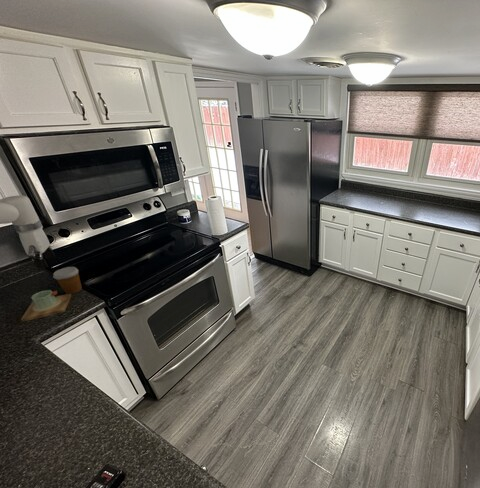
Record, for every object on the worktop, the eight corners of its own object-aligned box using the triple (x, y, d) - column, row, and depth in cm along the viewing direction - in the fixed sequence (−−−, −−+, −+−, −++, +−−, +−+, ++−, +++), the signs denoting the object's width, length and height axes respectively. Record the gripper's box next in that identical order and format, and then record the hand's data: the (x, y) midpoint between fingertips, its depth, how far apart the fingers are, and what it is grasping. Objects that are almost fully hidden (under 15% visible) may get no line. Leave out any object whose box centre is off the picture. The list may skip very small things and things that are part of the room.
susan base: (22, 321, 116) (20, 319, 115) (33, 304, 127) (32, 301, 126) (64, 312, 123) (62, 309, 122) (71, 295, 133) (70, 293, 133)
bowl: (29, 314, 118) (23, 303, 115) (37, 302, 126) (31, 291, 123) (58, 307, 123) (52, 297, 120) (64, 296, 130) (59, 286, 127)
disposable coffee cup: (65, 298, 131) (55, 278, 126) (59, 292, 136) (49, 272, 131) (89, 289, 139) (80, 270, 133) (82, 283, 143) (73, 264, 138)
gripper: (24, 220, 113) (42, 255, 120) (5, 235, 99) (27, 274, 107) (48, 218, 116) (64, 252, 123) (32, 232, 102) (51, 269, 110)
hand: (46, 262), depth 115 cm, fingers open, 9 cm apart
